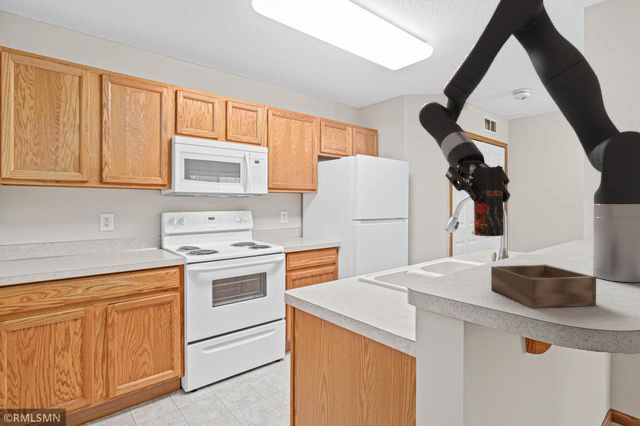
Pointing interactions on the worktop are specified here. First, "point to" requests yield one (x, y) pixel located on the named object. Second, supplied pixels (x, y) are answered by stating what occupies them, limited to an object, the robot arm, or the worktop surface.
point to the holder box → (543, 286)
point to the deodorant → (489, 202)
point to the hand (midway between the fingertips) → (493, 200)
